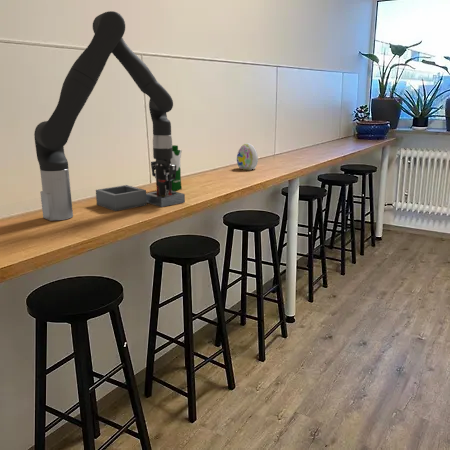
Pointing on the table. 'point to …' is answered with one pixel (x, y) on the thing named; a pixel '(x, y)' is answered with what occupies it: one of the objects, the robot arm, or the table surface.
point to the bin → (121, 197)
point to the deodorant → (162, 181)
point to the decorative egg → (247, 157)
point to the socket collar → (165, 199)
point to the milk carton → (176, 161)
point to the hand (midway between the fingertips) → (164, 188)
